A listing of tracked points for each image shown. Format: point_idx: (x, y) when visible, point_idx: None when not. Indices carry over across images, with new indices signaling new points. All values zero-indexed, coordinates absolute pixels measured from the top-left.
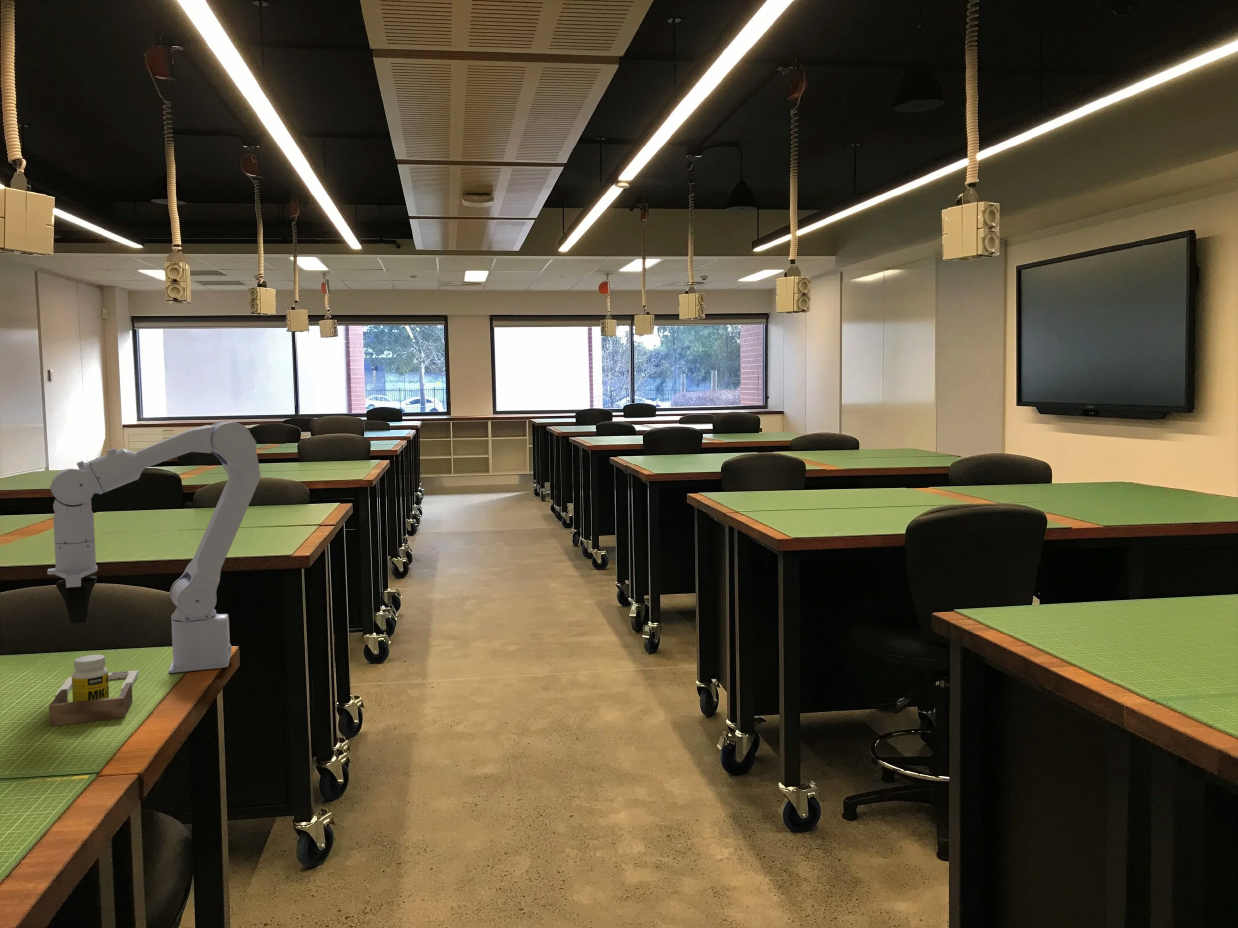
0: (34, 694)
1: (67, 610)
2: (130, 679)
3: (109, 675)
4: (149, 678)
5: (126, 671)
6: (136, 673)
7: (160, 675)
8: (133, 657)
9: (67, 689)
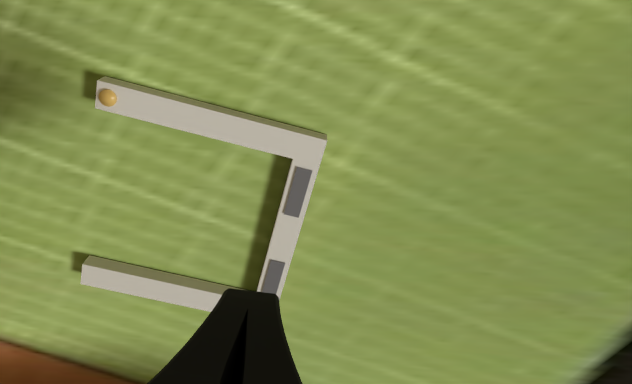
0: (223, 12)
1: (191, 337)
2: (171, 295)
3: (268, 251)
4: None
5: None
6: None
7: None
8: (497, 327)
9: (155, 123)
